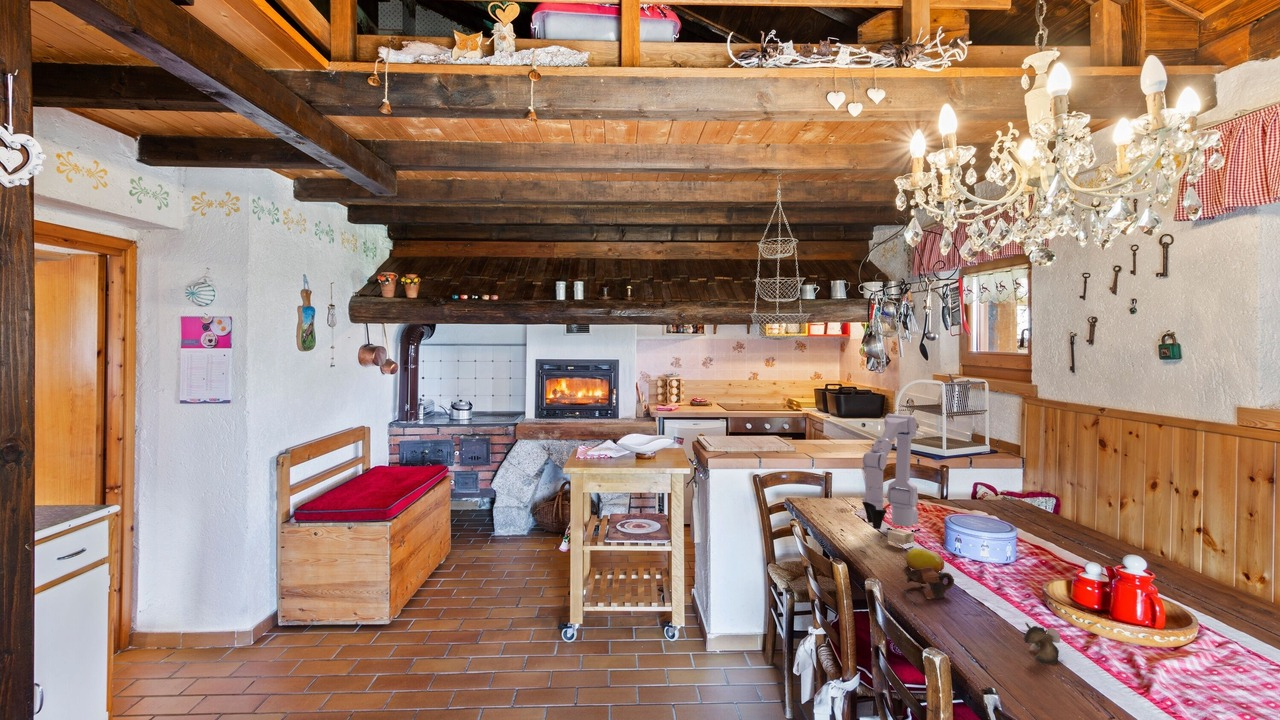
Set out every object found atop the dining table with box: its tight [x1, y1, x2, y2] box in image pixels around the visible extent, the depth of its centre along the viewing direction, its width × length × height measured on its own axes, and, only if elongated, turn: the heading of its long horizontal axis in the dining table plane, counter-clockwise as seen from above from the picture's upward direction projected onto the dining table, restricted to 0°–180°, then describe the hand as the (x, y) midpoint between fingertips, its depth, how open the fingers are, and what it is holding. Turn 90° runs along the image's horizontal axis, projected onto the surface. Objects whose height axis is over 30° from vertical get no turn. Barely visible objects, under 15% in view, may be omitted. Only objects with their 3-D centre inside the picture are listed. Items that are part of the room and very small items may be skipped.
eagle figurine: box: [1023, 622, 1061, 665], centre depth 129 cm, size 8×7×9 cm
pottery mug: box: [906, 567, 955, 599], centre depth 162 cm, size 12×10×8 cm
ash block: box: [887, 528, 915, 545], centre depth 202 cm, size 6×6×5 cm
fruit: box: [905, 547, 945, 573], centre depth 179 cm, size 11×10×8 cm
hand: (873, 525), depth 202 cm, fingers open, 7 cm apart
